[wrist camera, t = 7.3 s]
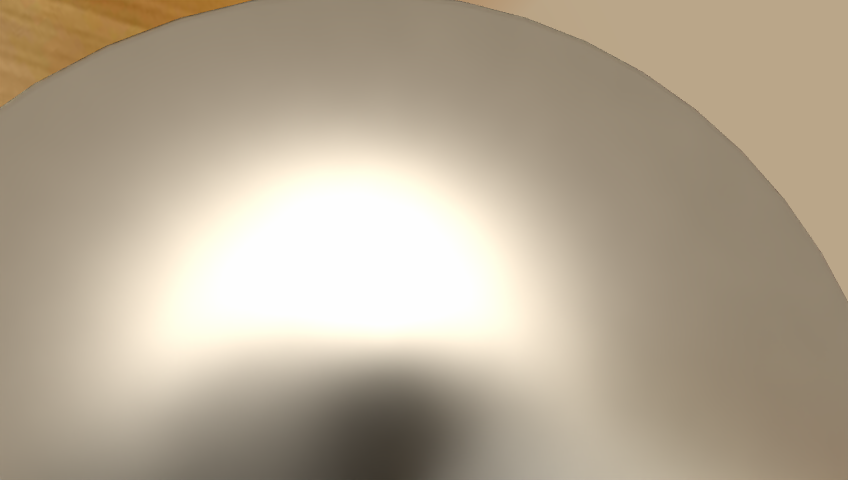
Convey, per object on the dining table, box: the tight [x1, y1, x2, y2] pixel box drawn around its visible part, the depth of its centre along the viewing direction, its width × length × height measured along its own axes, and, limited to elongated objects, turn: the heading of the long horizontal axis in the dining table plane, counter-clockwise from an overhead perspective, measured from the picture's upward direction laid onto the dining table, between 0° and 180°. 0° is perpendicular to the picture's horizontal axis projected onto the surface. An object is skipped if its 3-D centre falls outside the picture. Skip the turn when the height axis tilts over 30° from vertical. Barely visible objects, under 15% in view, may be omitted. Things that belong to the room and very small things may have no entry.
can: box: [0, 0, 848, 480], centre depth 9 cm, size 7×7×13 cm
